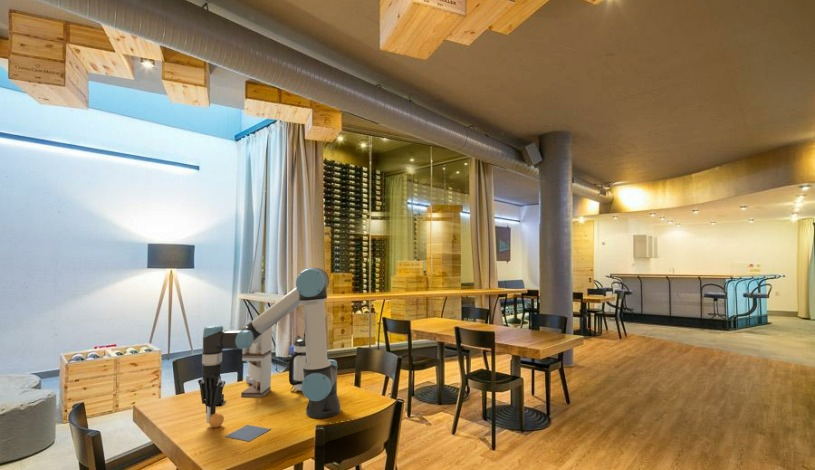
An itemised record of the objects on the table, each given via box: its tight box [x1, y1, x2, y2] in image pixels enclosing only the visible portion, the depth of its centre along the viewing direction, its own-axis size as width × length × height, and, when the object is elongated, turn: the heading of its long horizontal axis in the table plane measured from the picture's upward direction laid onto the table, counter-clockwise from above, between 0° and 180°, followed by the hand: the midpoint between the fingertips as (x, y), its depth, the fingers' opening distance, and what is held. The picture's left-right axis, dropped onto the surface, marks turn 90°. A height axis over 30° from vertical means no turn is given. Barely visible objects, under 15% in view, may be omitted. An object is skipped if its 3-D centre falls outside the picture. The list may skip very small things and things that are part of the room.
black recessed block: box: [216, 393, 227, 407], centre depth 192 cm, size 12×7×5 cm, turn 9°
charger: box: [245, 374, 253, 385], centre depth 227 cm, size 5×9×15 cm
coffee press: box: [288, 333, 307, 393], centre depth 212 cm, size 17×16×30 cm
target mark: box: [224, 424, 271, 442], centre depth 157 cm, size 12×12×1 cm
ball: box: [208, 412, 225, 429], centre depth 164 cm, size 6×6×6 cm
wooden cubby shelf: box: [240, 325, 273, 398], centre depth 209 cm, size 11×11×35 cm
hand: (210, 421), depth 165 cm, fingers closed
